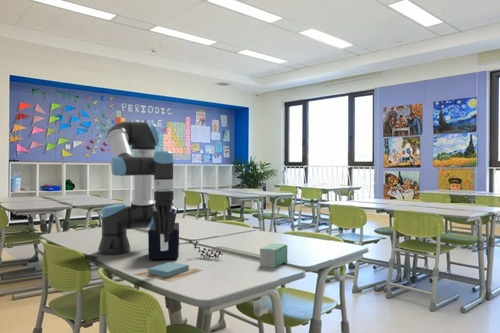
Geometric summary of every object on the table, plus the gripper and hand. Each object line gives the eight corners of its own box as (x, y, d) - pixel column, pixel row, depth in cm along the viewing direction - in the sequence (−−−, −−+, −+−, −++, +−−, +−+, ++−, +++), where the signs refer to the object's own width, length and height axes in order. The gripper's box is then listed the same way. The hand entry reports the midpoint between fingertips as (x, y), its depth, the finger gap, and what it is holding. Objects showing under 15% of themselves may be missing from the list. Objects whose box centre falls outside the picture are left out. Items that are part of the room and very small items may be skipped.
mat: (133, 275, 148) (133, 274, 148) (165, 265, 164) (165, 264, 164) (172, 283, 138) (172, 281, 138) (203, 271, 153) (203, 270, 153)
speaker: (178, 261, 171) (178, 227, 171) (148, 263, 169) (148, 228, 169) (179, 251, 192) (178, 221, 192) (152, 252, 190) (152, 221, 190)
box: (288, 260, 170) (287, 243, 170) (275, 268, 158) (275, 249, 158) (272, 259, 174) (272, 242, 174) (259, 266, 162) (259, 248, 162)
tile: (148, 268, 148) (167, 272, 143) (169, 261, 159) (188, 264, 153) (148, 274, 148) (167, 277, 143) (169, 267, 159) (188, 270, 153)
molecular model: (220, 261, 171) (220, 242, 171) (190, 258, 176) (190, 240, 176) (226, 258, 177) (226, 240, 177) (197, 255, 182) (197, 238, 182)
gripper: (144, 190, 152) (145, 250, 152) (169, 191, 146) (170, 253, 145) (158, 189, 159) (159, 246, 159) (182, 190, 152) (183, 250, 152)
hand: (164, 250), depth 152 cm, fingers closed
